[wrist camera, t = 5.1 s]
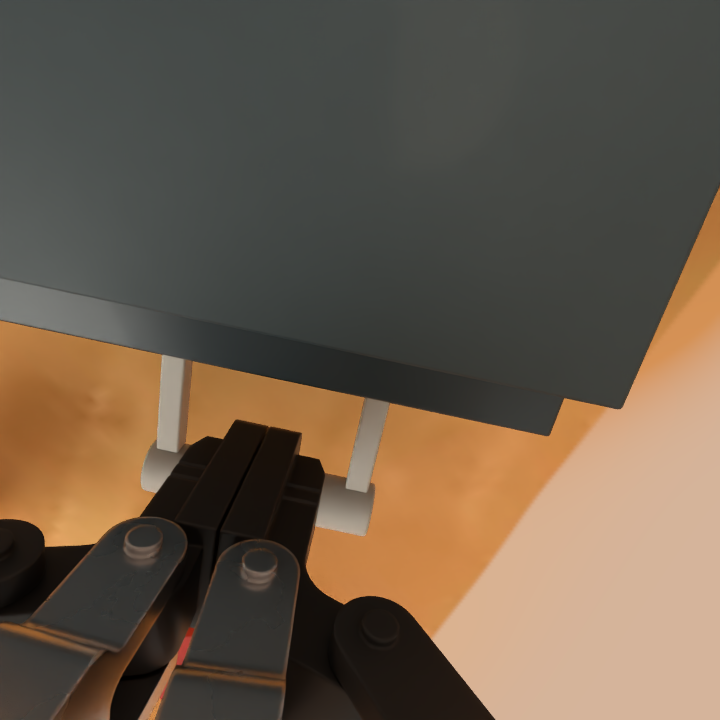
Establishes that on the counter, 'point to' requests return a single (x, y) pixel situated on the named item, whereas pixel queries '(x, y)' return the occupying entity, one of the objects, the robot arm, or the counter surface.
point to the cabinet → (370, 171)
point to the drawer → (280, 361)
